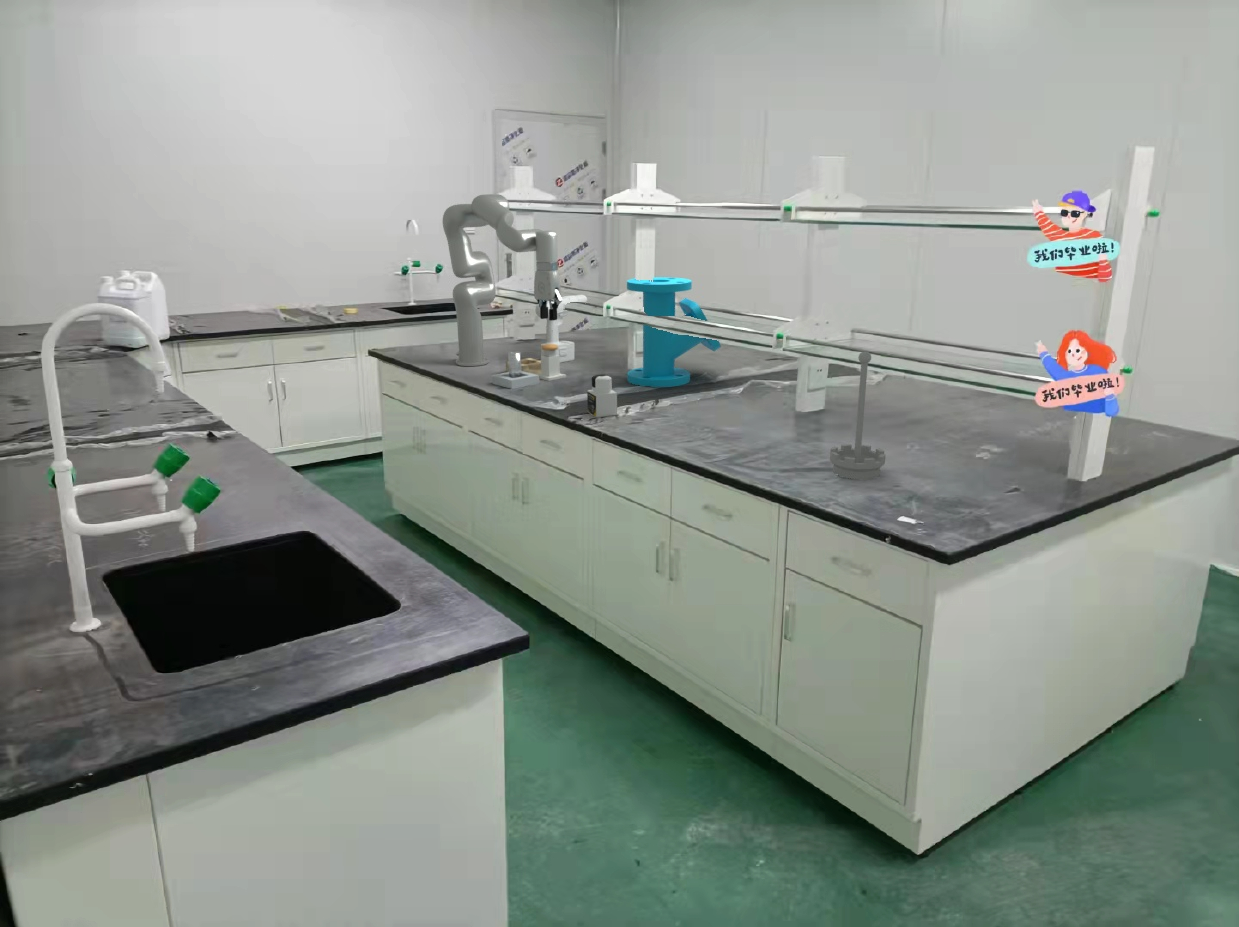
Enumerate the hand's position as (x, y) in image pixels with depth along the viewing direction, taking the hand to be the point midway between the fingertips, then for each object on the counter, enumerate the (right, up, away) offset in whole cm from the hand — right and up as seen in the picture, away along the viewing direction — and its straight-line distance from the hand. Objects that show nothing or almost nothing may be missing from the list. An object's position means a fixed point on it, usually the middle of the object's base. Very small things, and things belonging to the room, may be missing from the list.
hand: (548, 318), depth 318 cm
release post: (0, -20, +7) cm, 21 cm away
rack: (-9, -18, +15) cm, 25 cm away
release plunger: (0, -17, +6) cm, 18 cm away
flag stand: (+83, -54, -99) cm, 140 cm away
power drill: (+3, -11, +37) cm, 39 cm away
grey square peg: (-12, -23, -2) cm, 26 cm away
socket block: (-12, -23, -2) cm, 26 cm away
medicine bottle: (+20, -36, -43) cm, 60 cm away
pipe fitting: (+44, -22, +2) cm, 49 cm away
